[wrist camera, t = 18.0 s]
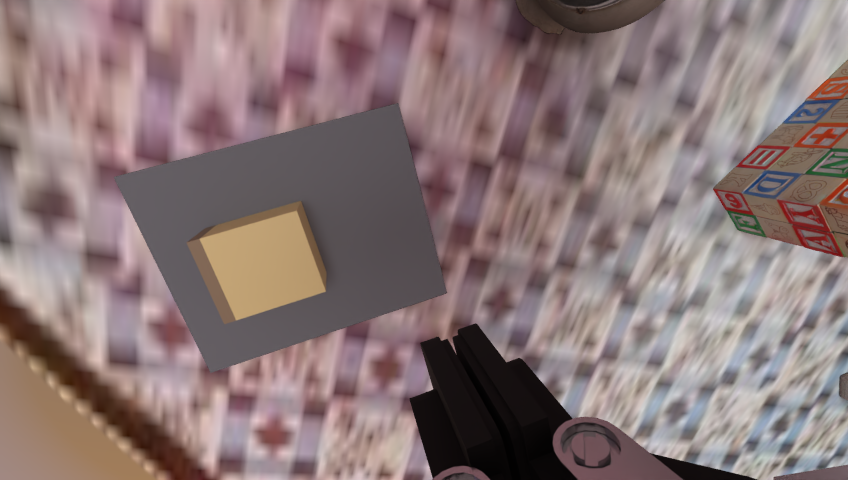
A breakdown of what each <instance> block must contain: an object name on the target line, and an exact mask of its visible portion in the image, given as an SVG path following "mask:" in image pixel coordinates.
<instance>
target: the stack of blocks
mask: <svg viewBox="0 0 848 480" xmlns="http://www.w3.org/2000/svg"><path fill="white" fill-rule="evenodd" d="M713 190H714V191H715V193H716V195H717V196H718V198H719V200H720V201H721V203H722V205H723V206H724V208H725V209H726V210H727V212H728V214H729V215H730V217H731V219H732V221H733V222H734V224H735V226H736V227H737V229H738V230H739V231H743V232H746V233H750V234H754V235H758V236H762V237H769V238H772V239H775V240H779V241H783V242H787V243H791V244H795V245H799V246H803V247H805V248H809V249H812V250H816V251H821V252H824V253H827V254H832V255H836V256H839V257H847V258H848V60H847V61H846V62H845V63H844V64H843V65H842V66H841V67H840V68H839V69H838V70H837V71H836V72H834V73H833V74H832V76H831V77H830V78H829V79H828V80H826V81H825V82H824V83H823V84H822V85H821V86H820V87H819V88H818V89H817V90H816V91H814V92H813V93H812V94H811V95H810V96H809V97H808V98H807V99H806V101H805V102H804V103H803V104H802V105H801V106H799V107H798V108H797V109H796V110H795V111H794V112H793V113H792V114H791V115H790V116H789V117H788V118H787V119H786V120H785V121H784V122H783V123H782V124H781V125H780V126H779V127H778V128H777V129H776V130H775V131H774V132H773V133H772V134H770V135H769V136H768V137H767V138H766V139H765V140H764V141H763V142H762V143H761V144H760V145H759V146H757V147H756V148H755V149H754V150H753V151H752V152H751V153H750V154H749V155H748V156H747V157H746V158H744V159H743V160H742V161H741V162H740V163H739V164H738V165H737V166H736V167H735V168H734V169H733V170H732V171H731V172H729V173H728V174H727V175H726V176H725V177H724V178H723V179H722V180H721V181H720V182H719V183H718V184H717V185H716V186H715V187H714V188H713Z"/></svg>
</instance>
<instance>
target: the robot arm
mask: <svg viewBox="0 0 848 480" xmlns="http://www.w3.org/2000/svg"><path fill="white" fill-rule="evenodd" d="M453 343H454V346H455V350H456V353H455V351H454V350H453V348H452V346H451V344H450V342H449V341H448V339H446V340H443V341H441V340H440V338H439V337H436V338H433V339H430V340H427V341H424V342H421V343H420V344H421V348H422V352H423V355H424V358H425V362H426V365H427V369H428V372H429V375H430V379H431V382H432V386H433V389H434V390H431V391H429V392H426V393H423V394H421V395H418V396H415V397H413V398H410V402H411V406H412V409H413V413H414V416H415V419H416V423H417V426H418V429H419V433H420V436H421V440H422V443H423V446H424V450H425V453H426V457H427V460H428V463H429V467H430V470H431V473H432V477H433V480H757V479H754V478H751V477H747V476H743V475H739V474H735V473H731V472H726V471H722V470H718V469H714V468H710V467H705V466H701V465H697V464H693V463H688V462H684V461H680V460H676V459H672V458H667V457H663V456H659V455H655V454H651V453H649V452H648V451H646V450H645V449H644V448H643V447H641V446H640V445H639V444H638V443H636V442H635V441H634V440H633V439H631V438H630V437H629V436H627V435H626V434H625V433H624V432H622V431H621V430H620V429H619V428H617V427H616V426H614V425H613V424H611V423H609V422H608V421H605V420H602V419H599V418H593V417H579V418H574V419H572V418H571V416H570V415H569V414H568V413H567V412H566V410H565V409H564V408H563V407H562V406H561V405H560V403H559V402H558V401H557V400H556V399H555V397H554V396H553V395H552V394H551V393H550V392H549V390H548V389H547V388H546V387H545V386H544V384H543V383H542V382H541V381H540V380H539V379H538V377H537V376H536V375H535V374H534V373H533V371H532V370H531V369H530V368H529V367H528V365H527V364H526V363H525V362H524V361H523V360H522V359H520V358H518V359H515V360H512V361H510V362H507V363H506V361H505V360H504V359H503V358H502V356H501V355H500V354H499V352H498V351H497V350H496V348H495V347H494V346H493V344H492V343H491V342H490V340H489V339H488V338H487V337H486V335H485V334H484V333H483V331H482V330H481V329H480V327H479V326H478V325H477V324H473V325H470V326H467V327H464V328H461V329H458V335H457V336H454V337H453ZM456 354H457V355H456ZM774 480H848V465H843V466H837V467H831V468H825V469H819V470H813V471H807V472H801V473H795V474H789V475H783V476H777V477H774Z"/></svg>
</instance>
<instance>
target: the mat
mask: <svg viewBox="0 0 848 480" xmlns="http://www.w3.org/2000/svg"><path fill="white" fill-rule="evenodd" d="M114 179H115V181H116V183H117V185H118V187H119V189H120V191H121V193H122V195H123V197H124V199H125V201H126V203H127V205H128V207H129V209H130V211H131V213H132V215H133V217H134V219H135V221H136V223H137V225H138V227H139V229H140V231H141V233H142V235H143V237H144V239H145V241H146V243H147V245H148V247H149V249H150V251H151V253H152V255H153V257H154V259H155V261H156V263H157V265H158V267H159V269H160V271H161V273H162V276H163V278H164V280H165V282H166V284H167V286H168V288H169V290H170V292H171V294H172V296H173V298H174V300H175V302H176V304H177V306H178V308H179V310H180V312H181V314H182V316H183V318H184V320H185V322H186V324H187V326H188V328H189V330H190V332H191V334H192V336H193V338H194V340H195V342H196V344H197V346H198V348H199V350H200V352H201V354H202V356H203V358H204V360H205V362H206V364H207V366H208V368H209V370H210V372H214V371H217V370H220V369H223V368H226V367H229V366H232V365H235V364H238V363H241V362H244V361H247V360H250V359H253V358H256V357H259V356H262V355H265V354H268V353H271V352H274V351H277V350H280V349H283V348H286V347H289V346H292V345H295V344H298V343H301V342H303V341H306V340H309V339H312V338H315V337H318V336H321V335H324V334H327V333H330V332H333V331H336V330H339V329H342V328H345V327H348V326H351V325H354V324H357V323H360V322H363V321H366V320H369V319H372V318H375V317H378V316H381V315H384V314H387V313H390V312H393V311H396V310H399V309H402V308H405V307H407V306H410V305H413V304H416V303H419V302H422V301H425V300H428V299H431V298H434V297H437V296H440V295H443V294H446V293H447V291H446V287H445V283H444V279H443V275H442V271H441V268H440V264H439V260H438V256H437V252H436V248H435V244H434V240H433V236H432V233H431V229H430V225H429V221H428V217H427V213H426V209H425V205H424V201H423V197H422V194H421V190H420V186H419V182H418V178H417V174H416V170H415V166H414V162H413V159H412V155H411V151H410V147H409V143H408V139H407V135H406V131H405V127H404V123H403V120H402V116H401V112H400V108H399V104H398V103H397V104H393V105H389V106H385V107H381V108H377V109H373V110H370V111H366V112H362V113H358V114H354V115H350V116H347V117H343V118H339V119H335V120H331V121H327V122H324V123H320V124H316V125H312V126H308V127H304V128H300V129H297V130H293V131H289V132H285V133H281V134H277V135H274V136H270V137H266V138H262V139H258V140H254V141H251V142H247V143H243V144H239V145H235V146H231V147H227V148H224V149H220V150H216V151H212V152H208V153H204V154H201V155H197V156H193V157H189V158H185V159H181V160H178V161H174V162H170V163H166V164H162V165H158V166H155V167H151V168H147V169H143V170H139V171H135V172H131V173H128V174H124V175H120V176H116V177H114ZM298 201H301V202H302V205H303V208H304V211H305V214H306V216H307V219H308V222H309V225H310V228H311V230H312V233H313V236H314V239H315V242H316V244H317V247H318V250H319V253H320V256H321V258H322V261H323V264H324V267H325V270H326V273H327V275H326V292H323V293H320V294H317V295H314V296H311V297H308V298H305V299H302V300H298V301H295V302H292V303H289V304H286V305H283V306H280V307H277V308H274V309H270V310H267V311H264V312H261V313H258V314H255V315H252V316H249V317H246V318H243V319H239V320H236V321H233V322H230V323H227V324H224V323H223V321H222V318H221V316H220V314H219V312H218V310H217V308H216V305H215V303H214V301H213V299H212V297H211V295H210V292H209V290H208V288H207V286H206V284H205V282H204V280H203V277H202V275H201V273H200V271H199V269H198V267H197V264H196V262H195V260H194V258H193V256H192V254H191V251H190V249H189V247H188V245H187V243H186V242H188V241H189V240H190V239H192V238H193V237H194V236H196V235H197V234H198V233H200V232H201V231H202V230H204V229H205V228H208V227H211V226H215V225H218V224H222V223H225V222H229V221H232V220H236V219H239V218H243V217H246V216H249V215H253V214H256V213H260V212H263V211H267V210H270V209H274V208H277V207H281V206H284V205H288V204H291V203H295V202H298Z"/></svg>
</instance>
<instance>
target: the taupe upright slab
mask: <svg viewBox="0 0 848 480" xmlns="http://www.w3.org/2000/svg"><path fill="white" fill-rule="evenodd" d="M840 396H841V397H843V398H844V399H846V400H848V373H846V374H843V375H842V376H841V377H840Z"/></svg>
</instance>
